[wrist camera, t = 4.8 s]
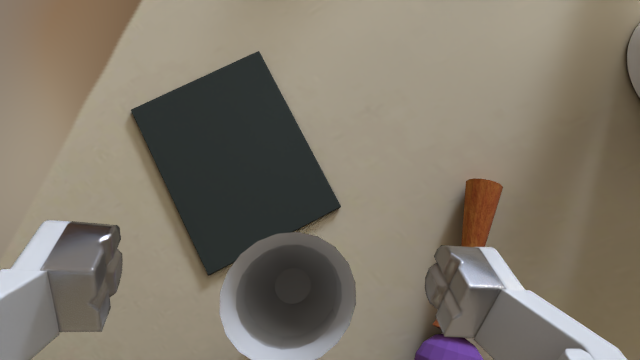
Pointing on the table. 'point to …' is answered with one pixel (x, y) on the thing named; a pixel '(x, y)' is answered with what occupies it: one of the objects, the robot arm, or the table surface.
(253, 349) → the chalice
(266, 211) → the mat
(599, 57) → the table surface
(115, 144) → the table surface
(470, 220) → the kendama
